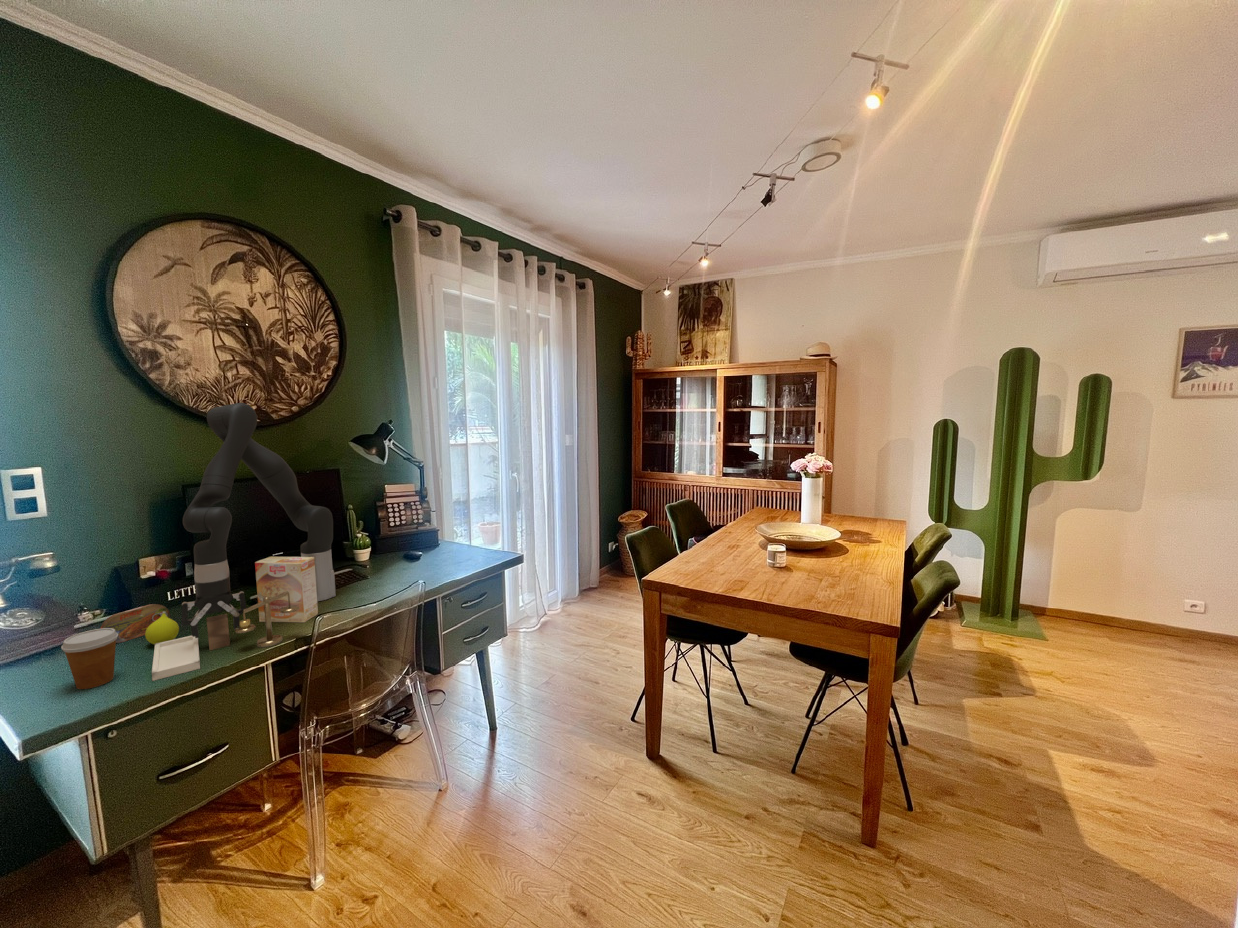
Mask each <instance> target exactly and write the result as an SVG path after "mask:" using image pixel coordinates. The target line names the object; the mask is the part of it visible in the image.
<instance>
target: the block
mask: <svg viewBox="0 0 1238 928" xmlns="http://www.w3.org/2000/svg"><path fill="white" fill-rule="evenodd" d="M206 628H207V638H208V647H209V651H213V650H216V649H217V650H218V649H220V648H225V647H229V646H231V642H230V631H229V630H230V629H229V619H228V614H227V613H222V614H218V615H214V616H210V617H206Z"/></svg>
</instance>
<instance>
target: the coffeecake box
mask: <svg viewBox="0 0 1238 928" xmlns="http://www.w3.org/2000/svg"><path fill="white" fill-rule="evenodd" d="M254 567H255V580H256V592H257V593H256V594H257V604H258V603H260V602H263V599H264V598H265V597H269V598H272V597H274V596H277V595H279V594H282V593H284V592H286V591H288V592H289V594H290V605H298V606H299V609H298V610H297V611H294V612H291V613H281V612H280V609H281V608H283V607H286V606H289V603H288V595H286V596H284V597H282V598H279V599H277V600H275V601H272V602H270V610H271V623H306V622H308V621H309V620H310V619H312V618H314V617H317V615H318V614H319V609H318V601H317V592H316V577H315V563H314V557H301V556H272V555H271V556H268V557H266V558H262V559H259V560H257V561H255V562H254ZM257 609H258V617H259V620H258V621H259V622H260V623H265V611H264V605H263V606H261V607H258V608H257Z"/></svg>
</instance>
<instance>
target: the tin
mask: <svg viewBox="0 0 1238 928" xmlns="http://www.w3.org/2000/svg"><path fill="white" fill-rule="evenodd" d="M163 611H166V612H165V614H166V616H167V617H168V618H170V616H171V615H170V611H169V608H167V607H166V606H165V605H162V604H155V603H153V604H151V603H150V604H146V605H142V606H139V607H135V608H132V609H129V610H125V611H122V612H118V613H114V614H111V615H110V616H108V617H107V618H106V619H105V620H104V621H103V622H102V623H101V626H100V629H102V628H112V629H115V631H116V633H118V637H117V639H116V644H120V643H124V642H128V641H131V640H133V639H137V638H140V637H143V636H145V633H146V630H147V628H148V627H149V626H150V625H151V624H152V623H153V622H155V621H156V620H158V619H159V618H160V617H161V616H162V614H163ZM170 619H171V618H170Z"/></svg>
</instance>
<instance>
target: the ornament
mask: <svg viewBox="0 0 1238 928" xmlns="http://www.w3.org/2000/svg"><path fill="white" fill-rule="evenodd" d="M165 612H166V611H163V614H162V616H161V617H160V618H159V619H158V620H156V621H155V622H153V623H152V624H151V625H150V626H149V627H148V628H147V630H146V633H145V635H144V636H145V640H146V641H147V642H149V644H152V645H155V644H156V643H161V642H165V641H170V640H174V639H176V637H177V636H178V635H179V631H180V627H179V624H178V622H176V621H175V620H173V619H172V618H168V617H167V616H166V614H165Z"/></svg>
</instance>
